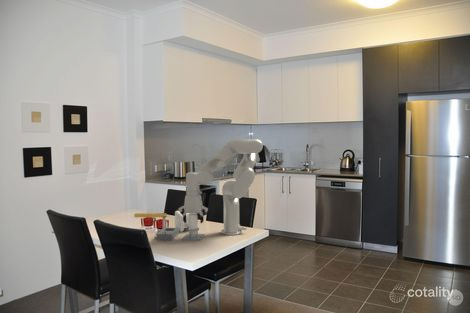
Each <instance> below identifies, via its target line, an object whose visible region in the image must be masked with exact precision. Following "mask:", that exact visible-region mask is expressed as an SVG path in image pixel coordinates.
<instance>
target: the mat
mask: <svg viewBox="0 0 470 313" xmlns="http://www.w3.org/2000/svg"><path fill="white" fill-rule="evenodd" d="M204 236H205V233H198V237H189V233H185V234H184V235H183V237H182V238H180V239H181V241H201V240H202V239H203V238H204Z"/></svg>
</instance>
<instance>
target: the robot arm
mask: <svg viewBox="0 0 470 313" xmlns="http://www.w3.org/2000/svg"><path fill="white" fill-rule="evenodd" d="M263 146H264V145H263V142H262V141H261V140H260V139H257V138H249V139H248V138H247V139H230V140H228V142H227V143H225V144H224V146H223V147H221V149H220V150H219V151H218V152H217V154H215V155H214V156H213V157H211V158H210V159H209V160H208V161H206V162H205V163H204V164H203V165H202V166H201V167H200V168H199V169H198V170H197V171H189V172H187V173H186V174H185V181H186V182H185V184H186V185H185V187H186V189H185V190H186V194H185V197H184V203H183V205H181V206H180V207H178V209H177V211H179V212H180V213H181V214H182V216H183V221H184V223H186V222H187V220H186V214H187V213H196V214H199V215H200V220H199V221H200V222H199V223H200V224H203V222H204V221H205V220H204V217H205V215H206V213H207V212H208V210H209V208H208V207H206V206H204V205H203V200H202V199H203V198H202V194H203V191H202V190H201V189H200V185H210V184H212V183H213V181H214V175H213V173H214V172H215V171H216V170H218V169H221V168H224V167H225V166H227V165H228V163H230V161H231V160H232V159H233V158H234V157H235V156H236V155H237V154H239V155H240V154H241V155H243V157H242V158H241V161H240V162H239V164H238V165H237V167H236V169H235V170H234V171H233V175H232V176H233V179H235V180H227V181H226V182H224V183H223V185H222V188H221V189H222V190H221V191H222V199H223V229H221V231H220V233H221V234H223V235H226V236H235V235H241V234H242V231H247V227H246V226H241V224H240V199H241V198H243V197H244V196H245V194H246V193H247V192H248V191H249V189H250V187H251V185H252V184H253V182H254V180H255V179H256V178H255V177H256V174H255V171H254V167H255V165H256V163H257V154H259V153H260V152H262V150H263V149H264V148H263ZM203 210H204V212H203Z"/></svg>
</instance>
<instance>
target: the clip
mask: <svg viewBox="0 0 470 313" xmlns="http://www.w3.org/2000/svg"><path fill="white" fill-rule="evenodd" d="M167 216H168V214H167V213H165V212H163V213H161V212H160V213H159V212H157V213H156V212H155V213H153V212H152V213H151V212H150V213H149V212H148V213H147V212H145V213H144V212H143V213H139V212H136V213H134V218H163V217H166V218H167Z"/></svg>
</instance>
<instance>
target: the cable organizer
mask: <svg viewBox="0 0 470 313" xmlns="http://www.w3.org/2000/svg"><path fill="white" fill-rule="evenodd" d="M189 214H192V213H187V214H186V220H187V222H186V223H184V221H183V216H182V214H181V213H180V211H179V210H175V212H174V225H175V226H174V228H179V233H182V232H184V230H185V229H188V228H189Z"/></svg>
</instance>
